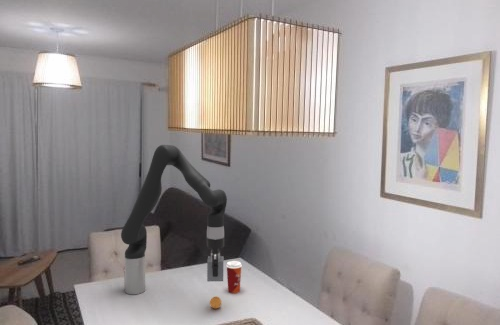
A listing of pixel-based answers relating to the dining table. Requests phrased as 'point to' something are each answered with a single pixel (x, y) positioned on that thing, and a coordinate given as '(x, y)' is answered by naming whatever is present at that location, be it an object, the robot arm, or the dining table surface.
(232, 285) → the paper cup
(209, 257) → the gray cube
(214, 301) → the ball
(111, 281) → the dining table surface
